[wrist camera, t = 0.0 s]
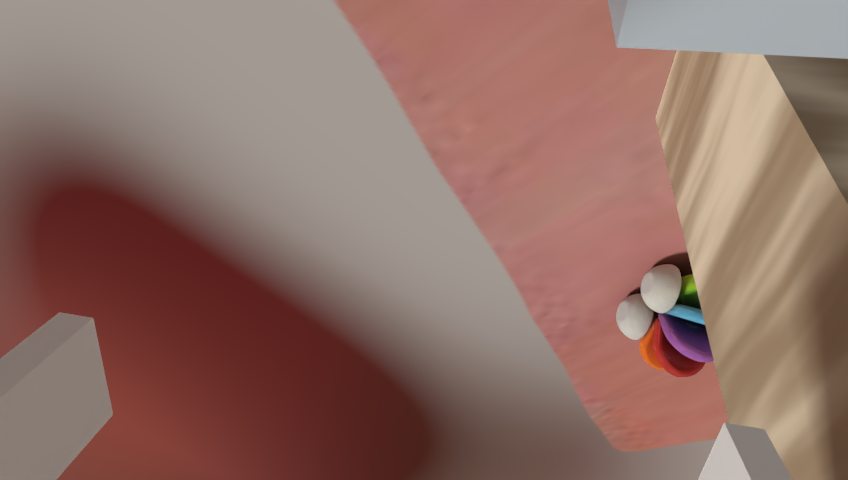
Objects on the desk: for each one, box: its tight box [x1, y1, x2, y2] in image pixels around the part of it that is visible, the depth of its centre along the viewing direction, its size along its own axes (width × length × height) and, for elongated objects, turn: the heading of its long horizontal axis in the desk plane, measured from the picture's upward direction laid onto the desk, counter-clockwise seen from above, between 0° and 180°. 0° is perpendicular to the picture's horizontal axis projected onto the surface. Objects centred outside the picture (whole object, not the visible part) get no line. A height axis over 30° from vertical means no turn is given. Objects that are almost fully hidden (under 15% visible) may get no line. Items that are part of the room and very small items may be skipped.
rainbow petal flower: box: [616, 264, 714, 377], centre depth 45 cm, size 8×10×7 cm
